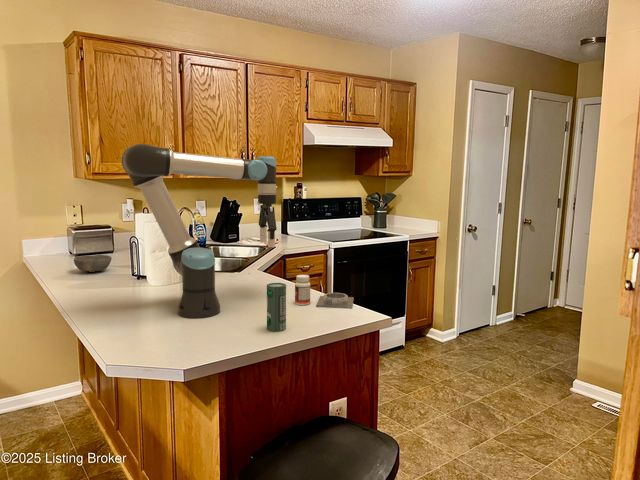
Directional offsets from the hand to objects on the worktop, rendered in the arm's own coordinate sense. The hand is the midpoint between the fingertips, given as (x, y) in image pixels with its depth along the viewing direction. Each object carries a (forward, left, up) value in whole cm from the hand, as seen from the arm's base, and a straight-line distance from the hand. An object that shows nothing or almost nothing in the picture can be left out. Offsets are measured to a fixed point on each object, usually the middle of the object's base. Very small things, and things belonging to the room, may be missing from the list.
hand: (267, 244), depth 198 cm
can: (-43, -13, -22) cm, 50 cm away
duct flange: (-8, -30, -22) cm, 38 cm away
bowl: (+32, +99, -22) cm, 106 cm away
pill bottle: (-11, -17, -22) cm, 30 cm away
